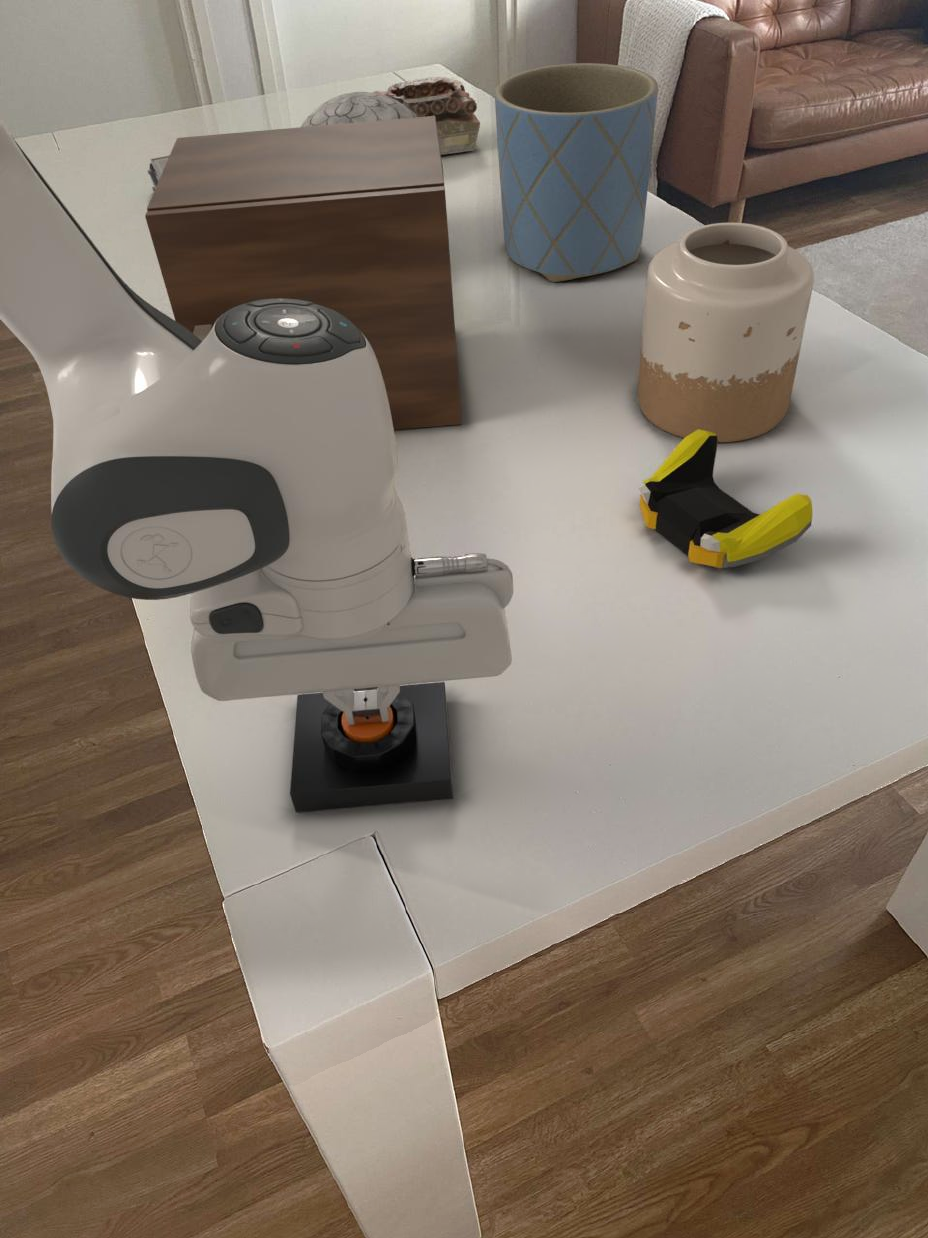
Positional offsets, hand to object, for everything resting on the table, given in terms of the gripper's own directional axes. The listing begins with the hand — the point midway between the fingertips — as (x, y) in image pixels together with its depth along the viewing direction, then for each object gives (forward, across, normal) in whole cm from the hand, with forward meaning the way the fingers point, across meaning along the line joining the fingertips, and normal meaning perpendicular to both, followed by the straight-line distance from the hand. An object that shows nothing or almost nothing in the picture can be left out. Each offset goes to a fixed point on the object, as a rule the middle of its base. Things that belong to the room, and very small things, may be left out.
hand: (369, 716), depth 68 cm
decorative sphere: (+4, 0, -84) cm, 84 cm away
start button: (+2, 0, 0) cm, 2 cm away
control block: (+4, 0, 0) cm, 4 cm away
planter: (+5, -26, -80) cm, 84 cm away
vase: (+5, -35, -42) cm, 55 cm away
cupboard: (+4, +4, -52) cm, 52 cm away
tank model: (+5, -7, -120) cm, 120 cm away
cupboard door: (+4, +4, -39) cm, 40 cm away
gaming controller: (+5, -30, -22) cm, 37 cm away
